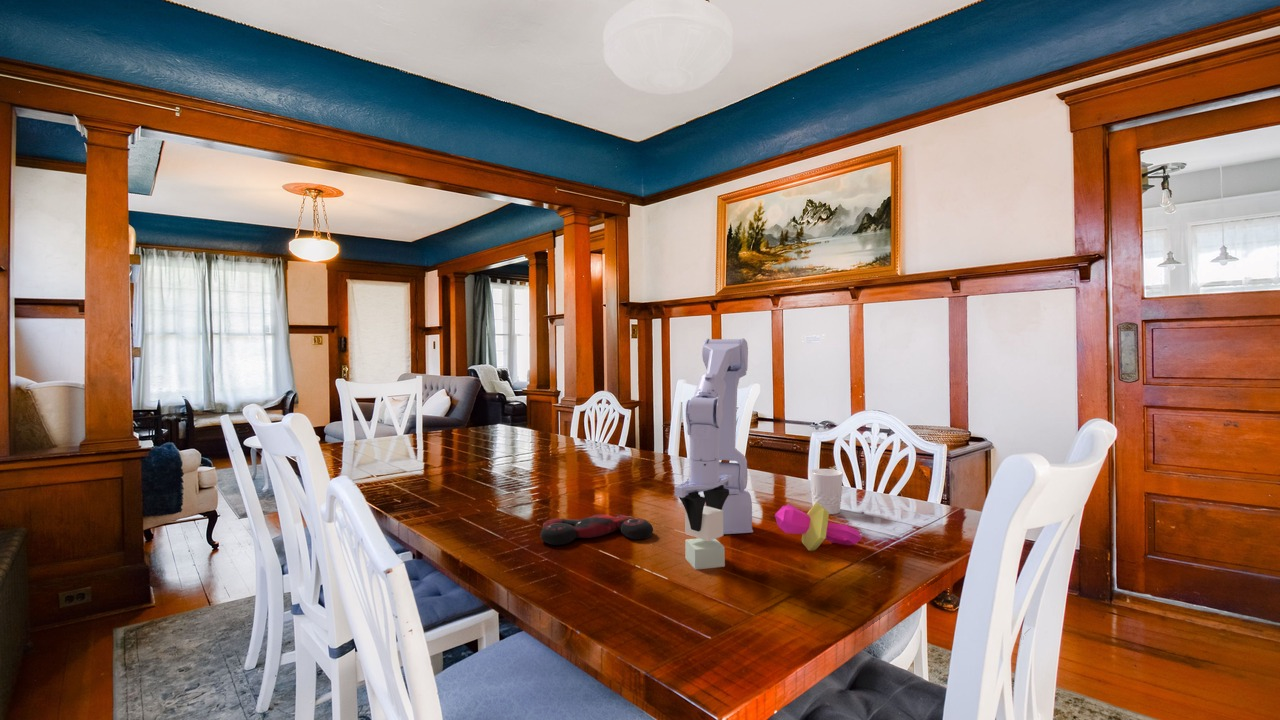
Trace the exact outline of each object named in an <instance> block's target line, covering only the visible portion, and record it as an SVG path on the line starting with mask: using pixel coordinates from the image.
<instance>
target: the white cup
mask: <svg viewBox="0 0 1280 720" xmlns="http://www.w3.org/2000/svg"><path fill="white" fill-rule="evenodd" d="M810 490H811V491H810V492H811V500H812V503H811V505H812V506H813V505H814V504H815V503H816V502H817V503H818V504H820V505H821V506H822V507H824V508H825V509H826V510H827V511H828V512H829V515H836V514H839V513H840V512H841V502H842V495H843V494H842V492H843V491H842V490H843V472H842V471H841V470H837V469H831V468H816V469H812V470H810Z"/></svg>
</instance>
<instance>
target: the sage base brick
mask: <svg viewBox="0 0 1280 720" xmlns="http://www.w3.org/2000/svg"><path fill="white" fill-rule="evenodd" d="M684 542H685V544H684V545H685V548H684V551H685V555H684V556H685V560H686V561H687V562H688V563H689V565H690V566H691V567H692V568H693V569H694V570H703V569H714V568H715V569H716V568H722V567H723V568H724V567H725V566H726V563H725V562H726V561H725V560H726V559H725V557H726V556H725V555H726V554H725V550H726V549H725V548H726V547H725V546H724V545H723V544H722V543H721V542H720V541H719V540H717V538H715V539H712V540H709V541H706V540H703V539H700V538H697V537H696V538H688V539H687V538H686V539H685V541H684Z"/></svg>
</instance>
